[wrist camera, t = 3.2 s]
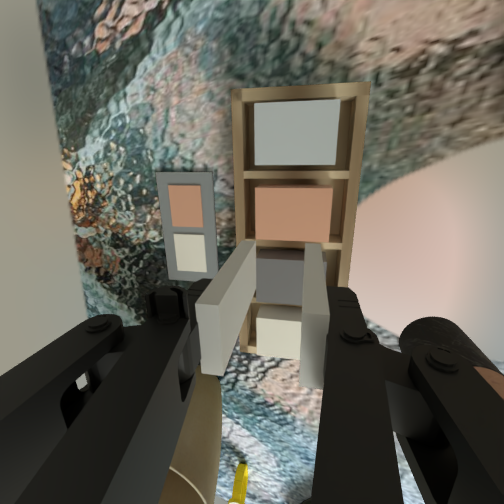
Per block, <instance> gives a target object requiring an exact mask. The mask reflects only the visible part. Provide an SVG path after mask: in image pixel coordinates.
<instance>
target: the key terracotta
mask: <svg viewBox="0 0 504 504" xmlns="http://www.w3.org/2000/svg"><path fill="white" fill-rule="evenodd" d="M332 197H333V187H332V186H331V185H313V184H260V185H258V186H257V187H256V188H255V228H256V239H259V240H283V241H306V242H329V233H330V221H331V209H332Z"/></svg>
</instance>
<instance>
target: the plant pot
mask: <svg viewBox="0 0 504 504" xmlns="http://www.w3.org/2000/svg"><path fill="white" fill-rule="evenodd" d="M195 372H196V385H195V388H194V391H193V394H192V397H191V401H190V404H189V407H188V410H187V413H186V417H185V420H184V423H183V426H182V429H181V432H180V436H179V439H178V442H177V445H176V448H175V451H174V455H173V458H172V461H171V464H170V467H169V471H168V474H167V477H166V480H165V483H164V486H163V490H162V493H161V496H160V499H159V502H158V504H214V499H215V492H216V485H217V478H218V471H219V462H220V451H221V435H222V398H221V385H220V382H219V380H218V378H217V377H216V375H211V374H203V373H202V372H201V366H200V365H198V366H197V368H196V370H195Z"/></svg>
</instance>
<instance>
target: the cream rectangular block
mask: <svg viewBox="0 0 504 504" xmlns="http://www.w3.org/2000/svg"><path fill="white" fill-rule="evenodd" d="M301 320H302V307H292V306H280V305H268V304H261V305H260V308H259V311H258V314H257V318H256V325H257V355H261V356H270V357H278V358H287V359H295V360H300V345H301Z"/></svg>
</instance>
